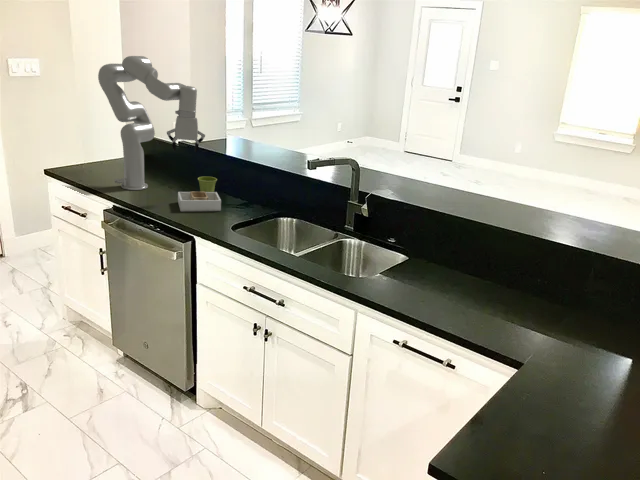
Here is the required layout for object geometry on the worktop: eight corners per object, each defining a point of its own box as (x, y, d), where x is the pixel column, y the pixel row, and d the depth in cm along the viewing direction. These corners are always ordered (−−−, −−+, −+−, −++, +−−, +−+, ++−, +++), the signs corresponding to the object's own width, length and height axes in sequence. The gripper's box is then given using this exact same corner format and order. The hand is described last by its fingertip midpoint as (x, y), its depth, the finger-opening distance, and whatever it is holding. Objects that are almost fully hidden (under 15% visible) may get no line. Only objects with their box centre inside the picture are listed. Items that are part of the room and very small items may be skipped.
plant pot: (193, 196, 268) (193, 179, 265) (203, 192, 276) (204, 175, 273) (210, 199, 265) (210, 182, 262) (220, 195, 273) (220, 178, 270)
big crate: (180, 211, 243) (180, 200, 242) (177, 202, 256) (177, 192, 254) (220, 211, 249) (221, 200, 248) (216, 202, 262) (216, 192, 260)
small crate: (192, 208, 247) (192, 197, 245) (190, 201, 255) (190, 191, 254) (208, 208, 249) (208, 197, 247) (205, 201, 258) (205, 191, 256)
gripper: (167, 114, 241) (166, 151, 247) (207, 117, 246) (204, 154, 253) (167, 111, 247) (165, 147, 254) (205, 114, 253) (203, 150, 259)
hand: (185, 151), depth 253 cm, fingers open, 9 cm apart
